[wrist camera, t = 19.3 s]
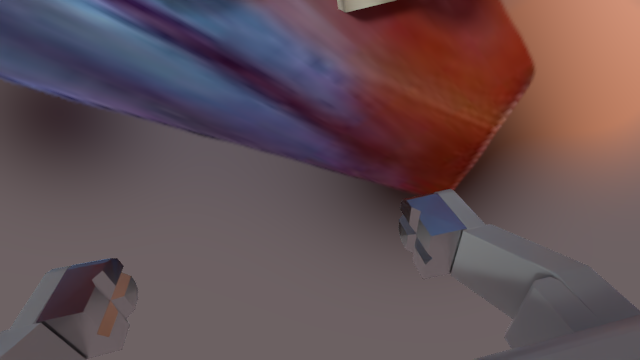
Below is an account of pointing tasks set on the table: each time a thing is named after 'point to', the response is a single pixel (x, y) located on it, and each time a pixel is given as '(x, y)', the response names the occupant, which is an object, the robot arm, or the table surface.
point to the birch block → (358, 4)
